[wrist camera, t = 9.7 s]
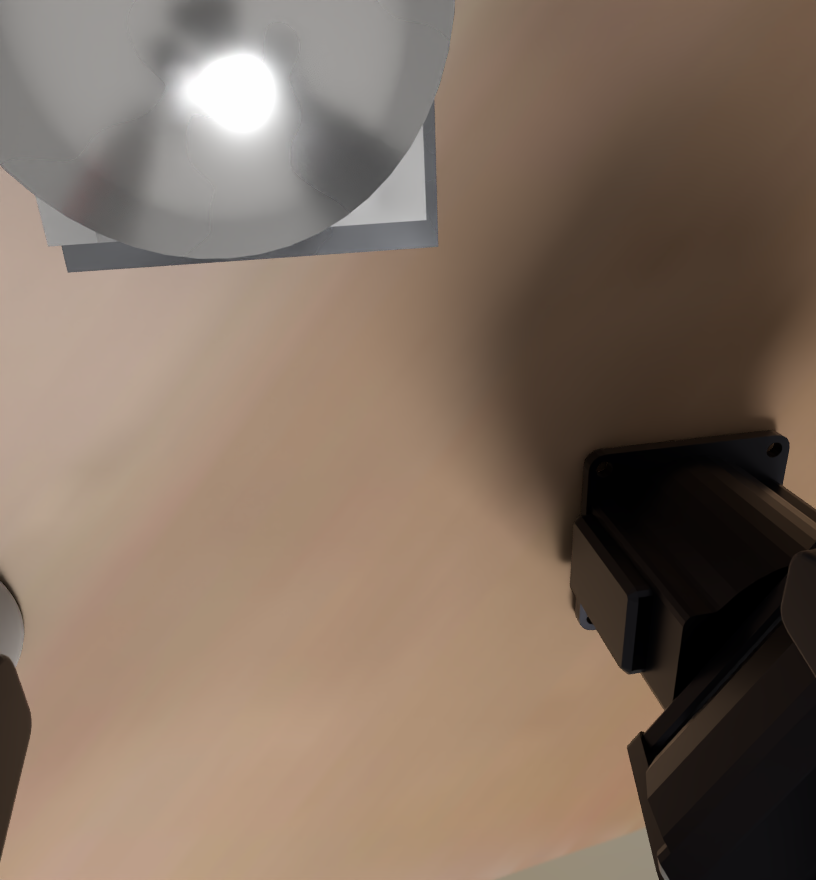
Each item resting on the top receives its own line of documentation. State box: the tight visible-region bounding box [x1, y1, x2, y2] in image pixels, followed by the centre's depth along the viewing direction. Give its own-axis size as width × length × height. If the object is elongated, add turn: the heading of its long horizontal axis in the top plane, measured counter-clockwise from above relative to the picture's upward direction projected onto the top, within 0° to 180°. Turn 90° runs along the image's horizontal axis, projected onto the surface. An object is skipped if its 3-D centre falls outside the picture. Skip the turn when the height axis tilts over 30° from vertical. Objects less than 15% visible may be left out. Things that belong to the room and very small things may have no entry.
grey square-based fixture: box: [0, 0, 455, 259], centre depth 11 cm, size 6×6×6 cm
